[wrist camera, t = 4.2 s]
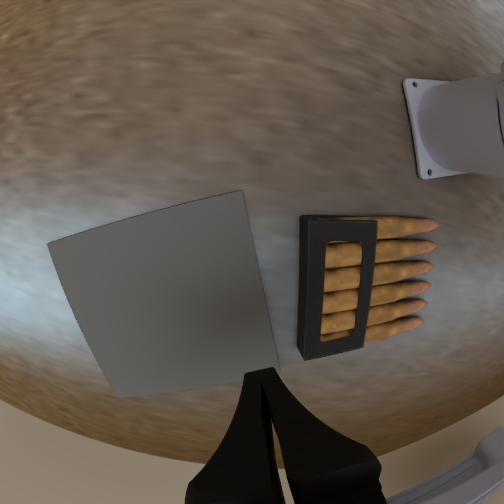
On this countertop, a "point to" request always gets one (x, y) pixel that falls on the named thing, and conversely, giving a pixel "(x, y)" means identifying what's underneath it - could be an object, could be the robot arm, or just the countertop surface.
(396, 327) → the ammunition clip
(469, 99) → the robot arm
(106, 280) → the mat
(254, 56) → the countertop surface
